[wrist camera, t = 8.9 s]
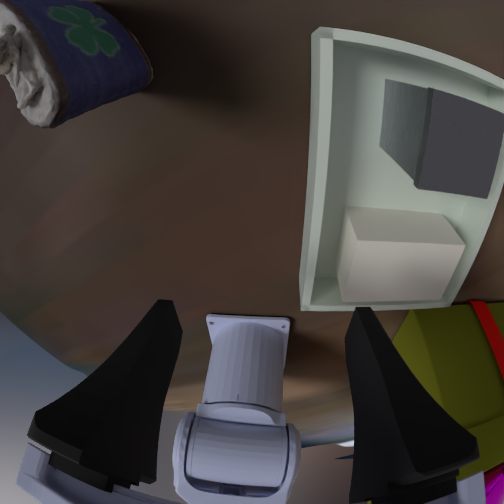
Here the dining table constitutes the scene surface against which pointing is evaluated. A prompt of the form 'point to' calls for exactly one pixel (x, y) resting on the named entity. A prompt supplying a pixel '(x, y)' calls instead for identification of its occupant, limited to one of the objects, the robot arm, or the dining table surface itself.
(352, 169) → the tote
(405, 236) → the egg box
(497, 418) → the gift box
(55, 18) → the flask
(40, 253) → the dining table surface
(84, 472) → the robot arm
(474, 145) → the tin
